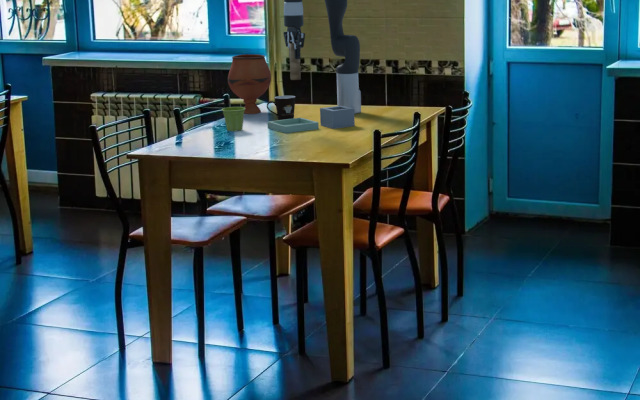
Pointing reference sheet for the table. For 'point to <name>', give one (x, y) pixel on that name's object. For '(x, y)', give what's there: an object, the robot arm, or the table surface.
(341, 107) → the blue storage bin
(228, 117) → the plant pot
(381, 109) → the table surface
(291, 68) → the dowel
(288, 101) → the coffee mug
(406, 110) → the table surface
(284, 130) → the tray
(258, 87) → the goblet
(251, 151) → the table surface
